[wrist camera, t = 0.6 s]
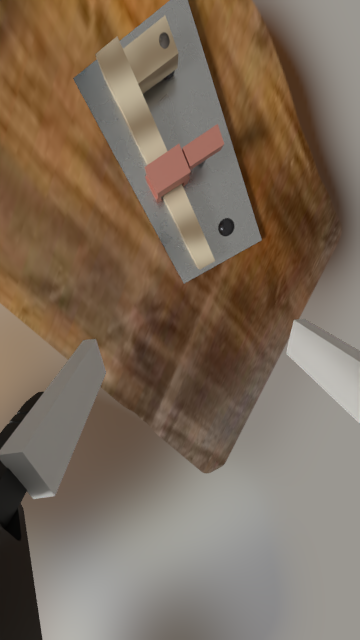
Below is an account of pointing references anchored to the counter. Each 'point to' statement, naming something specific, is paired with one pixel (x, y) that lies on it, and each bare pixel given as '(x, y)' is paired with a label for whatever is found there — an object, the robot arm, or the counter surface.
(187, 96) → the steel plate
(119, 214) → the counter surface
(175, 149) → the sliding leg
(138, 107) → the beam with fixed leg
